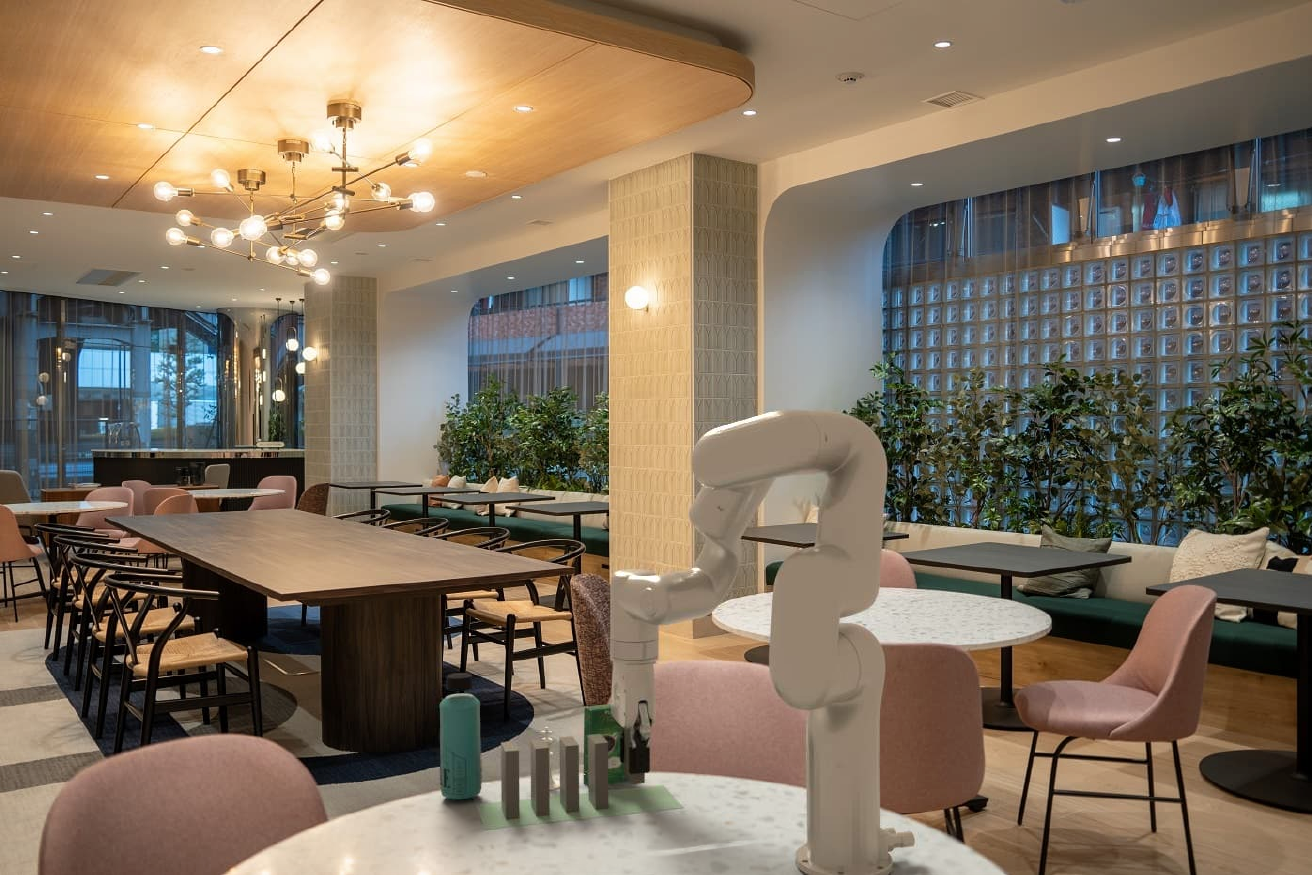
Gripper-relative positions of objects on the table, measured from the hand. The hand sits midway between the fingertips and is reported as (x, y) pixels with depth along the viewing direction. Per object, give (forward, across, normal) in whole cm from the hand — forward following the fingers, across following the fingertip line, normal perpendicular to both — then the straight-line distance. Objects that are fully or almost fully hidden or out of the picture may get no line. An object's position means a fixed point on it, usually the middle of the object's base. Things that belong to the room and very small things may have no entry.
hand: (634, 765), depth 161 cm
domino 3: (+5, 0, -10) cm, 12 cm away
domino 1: (+5, 0, -19) cm, 20 cm away
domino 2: (+5, 0, -15) cm, 16 cm away
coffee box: (+6, -10, -2) cm, 12 cm away
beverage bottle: (+6, -9, -26) cm, 28 cm away
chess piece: (+6, -11, -12) cm, 17 cm away
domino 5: (+2, 0, 0) cm, 2 cm away
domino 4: (+5, 0, -6) cm, 8 cm away
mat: (+6, 0, -9) cm, 11 cm away
